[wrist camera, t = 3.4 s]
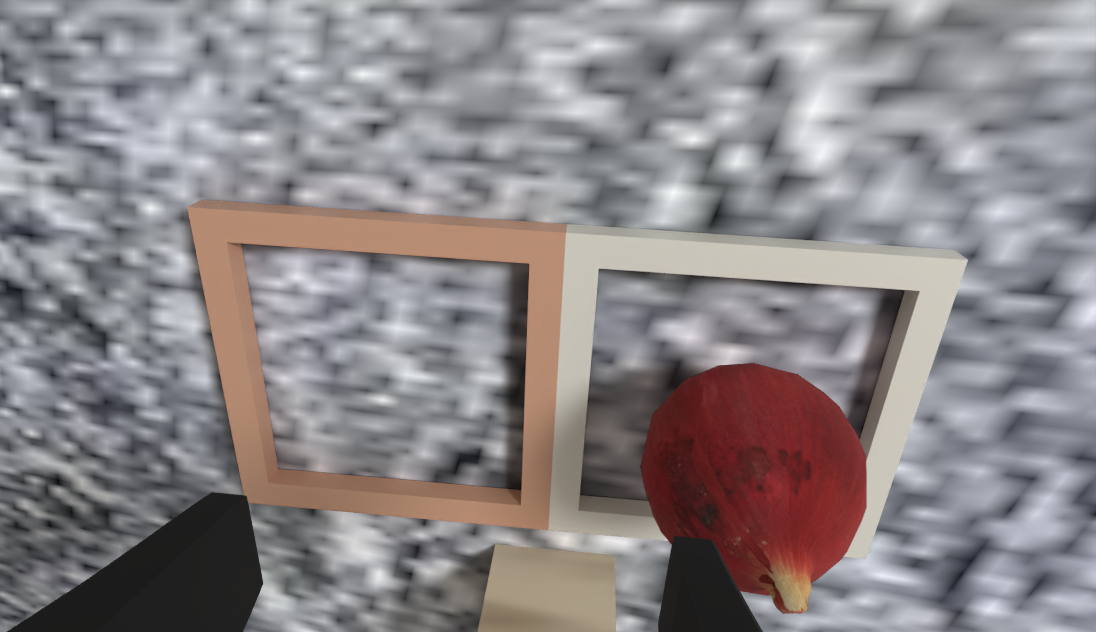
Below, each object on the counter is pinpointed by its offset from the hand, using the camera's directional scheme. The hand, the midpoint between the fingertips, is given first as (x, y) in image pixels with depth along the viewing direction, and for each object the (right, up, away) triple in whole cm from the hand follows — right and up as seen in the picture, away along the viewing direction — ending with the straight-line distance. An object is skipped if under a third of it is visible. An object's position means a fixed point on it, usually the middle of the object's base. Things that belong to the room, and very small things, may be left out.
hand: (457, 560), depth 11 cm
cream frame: (+7, +1, +10) cm, 13 cm away
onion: (+7, +2, +10) cm, 13 cm away
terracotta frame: (-4, +2, +11) cm, 12 cm away
